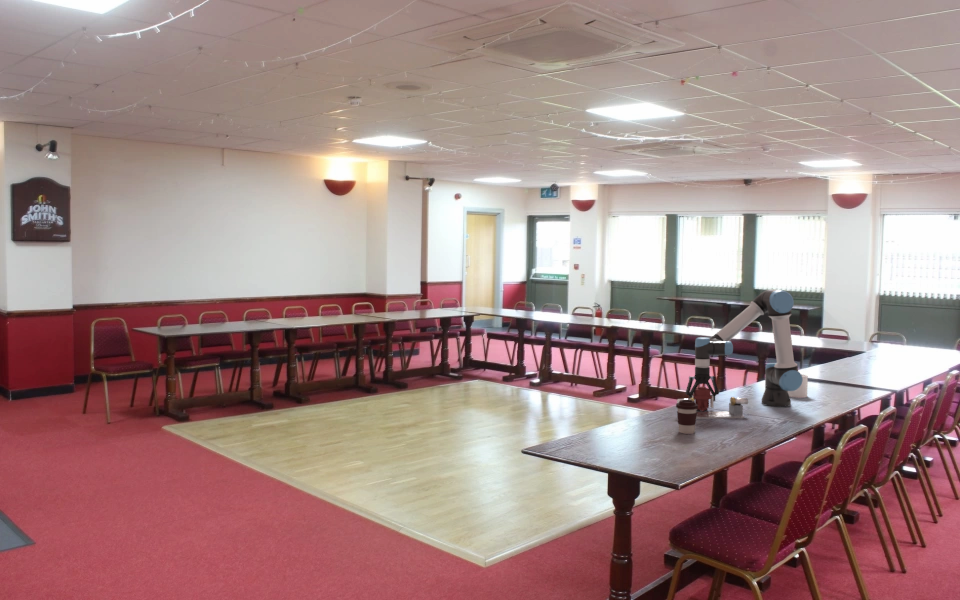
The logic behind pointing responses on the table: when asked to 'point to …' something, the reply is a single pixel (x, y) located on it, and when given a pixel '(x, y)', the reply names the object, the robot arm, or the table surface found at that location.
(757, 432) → the table surface
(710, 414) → the shaft bed
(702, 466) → the table surface
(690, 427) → the coffee cup
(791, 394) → the cup
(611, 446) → the table surface
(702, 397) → the mechanical component
